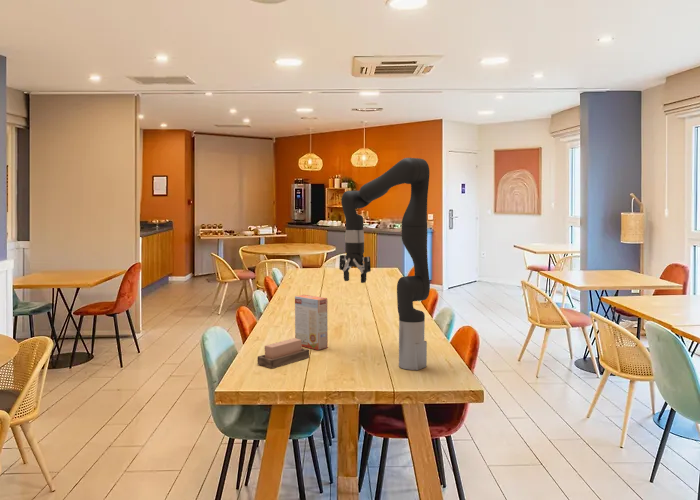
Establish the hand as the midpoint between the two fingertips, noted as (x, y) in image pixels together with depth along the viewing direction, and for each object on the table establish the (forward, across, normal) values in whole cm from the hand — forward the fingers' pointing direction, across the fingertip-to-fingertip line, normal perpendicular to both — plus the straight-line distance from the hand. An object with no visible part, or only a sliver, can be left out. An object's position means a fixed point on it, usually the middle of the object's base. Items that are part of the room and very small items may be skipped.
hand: (354, 281), depth 231 cm
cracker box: (+28, +18, +6) cm, 34 cm away
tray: (+28, +11, +29) cm, 42 cm away
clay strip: (+27, +11, +29) cm, 41 cm away
